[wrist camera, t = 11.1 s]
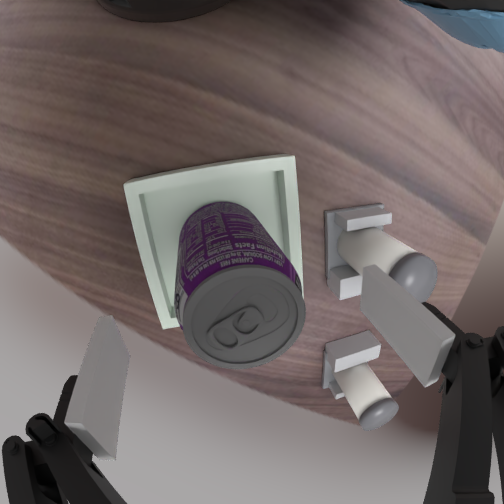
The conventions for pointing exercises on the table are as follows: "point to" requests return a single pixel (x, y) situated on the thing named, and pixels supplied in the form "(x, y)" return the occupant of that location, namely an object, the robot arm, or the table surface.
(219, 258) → the beverage can
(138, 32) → the table surface
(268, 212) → the tray
